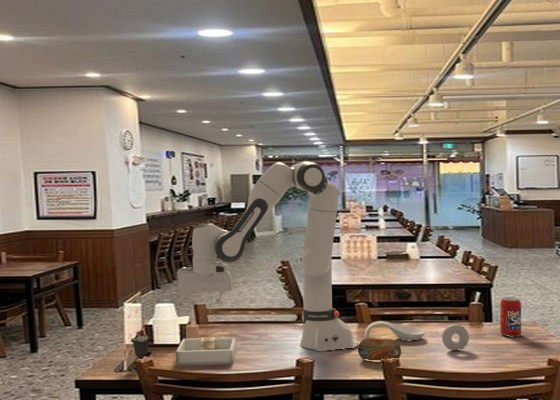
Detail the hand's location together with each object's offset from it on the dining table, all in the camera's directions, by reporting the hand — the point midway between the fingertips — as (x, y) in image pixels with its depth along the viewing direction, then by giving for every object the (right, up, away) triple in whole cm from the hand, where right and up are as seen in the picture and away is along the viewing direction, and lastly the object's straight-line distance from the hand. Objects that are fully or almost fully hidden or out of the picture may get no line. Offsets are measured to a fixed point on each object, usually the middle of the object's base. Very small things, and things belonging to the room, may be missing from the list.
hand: (205, 303), depth 215 cm
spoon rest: (+74, -17, +15) cm, 77 cm away
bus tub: (+1, -19, -3) cm, 20 cm away
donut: (+93, -17, -2) cm, 95 cm away
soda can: (+121, -16, +17) cm, 123 cm away
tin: (+63, -19, -12) cm, 67 cm away
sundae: (-21, -20, -13) cm, 32 cm away
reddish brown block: (-7, -19, +16) cm, 25 cm away
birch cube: (+1, -18, 0) cm, 18 cm away
